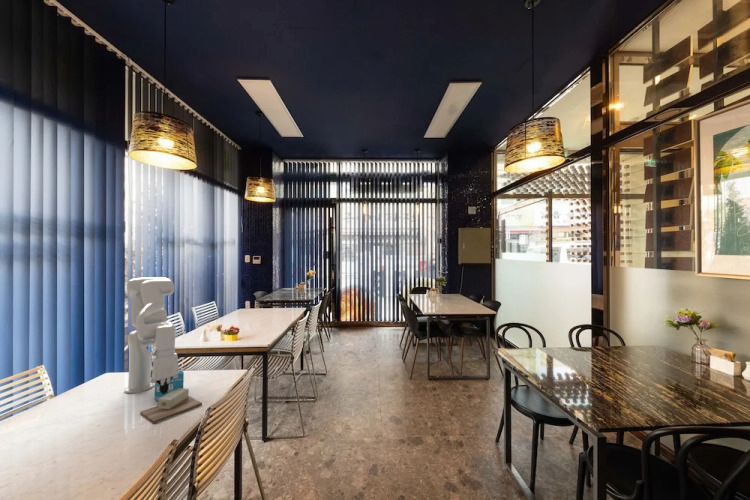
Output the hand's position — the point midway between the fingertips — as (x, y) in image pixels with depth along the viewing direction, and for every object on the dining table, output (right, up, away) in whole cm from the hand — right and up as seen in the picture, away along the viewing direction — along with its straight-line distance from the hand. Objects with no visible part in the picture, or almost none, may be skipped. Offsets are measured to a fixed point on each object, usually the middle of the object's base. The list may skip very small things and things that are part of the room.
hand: (163, 392), depth 138 cm
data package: (-8, -10, +15) cm, 20 cm away
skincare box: (-1, -6, +1) cm, 6 cm away
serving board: (+2, -9, +3) cm, 10 cm away
